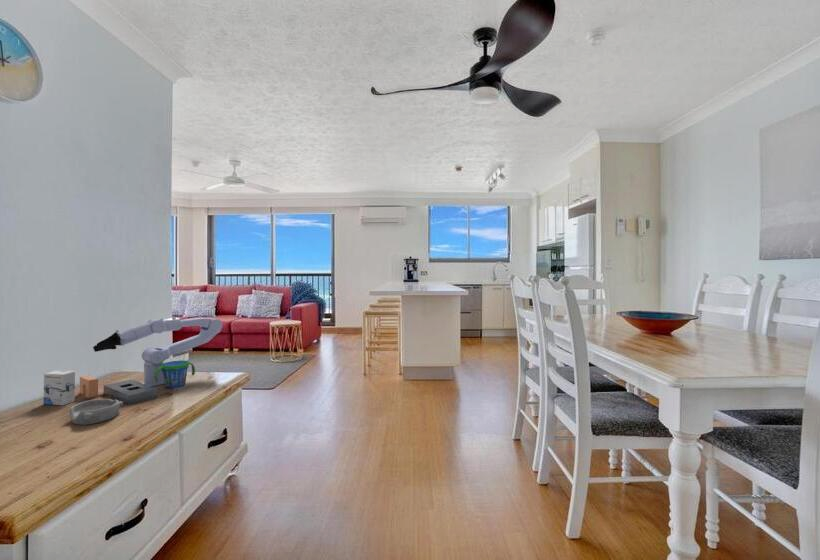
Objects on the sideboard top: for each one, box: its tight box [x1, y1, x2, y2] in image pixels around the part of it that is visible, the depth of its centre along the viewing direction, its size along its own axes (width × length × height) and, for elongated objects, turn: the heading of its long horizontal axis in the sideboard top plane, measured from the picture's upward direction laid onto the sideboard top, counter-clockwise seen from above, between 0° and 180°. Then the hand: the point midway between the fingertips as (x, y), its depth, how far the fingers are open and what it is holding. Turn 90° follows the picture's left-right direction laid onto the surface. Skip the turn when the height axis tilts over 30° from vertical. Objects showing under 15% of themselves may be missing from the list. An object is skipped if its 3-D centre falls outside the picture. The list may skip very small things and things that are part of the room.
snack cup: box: [154, 360, 196, 389], centre depth 173 cm, size 16×10×10 cm
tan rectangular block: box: [79, 374, 99, 399], centre depth 161 cm, size 3×10×7 cm, turn 56°
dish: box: [69, 398, 124, 426], centre depth 136 cm, size 14×14×5 cm
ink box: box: [43, 370, 76, 406], centre depth 151 cm, size 9×5×12 cm, turn 84°
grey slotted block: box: [103, 379, 158, 405], centre depth 160 cm, size 10×24×4 cm, turn 56°
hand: (95, 347), depth 159 cm, fingers open, 7 cm apart
